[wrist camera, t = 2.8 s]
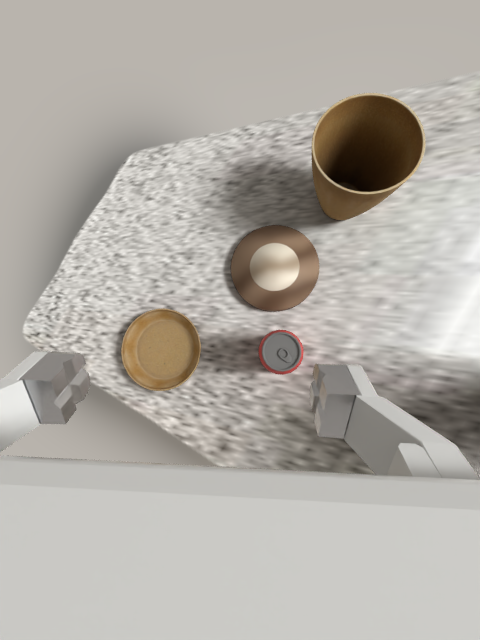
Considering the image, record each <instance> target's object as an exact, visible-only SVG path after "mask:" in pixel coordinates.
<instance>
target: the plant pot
mask: <svg viewBox="0 0 480 640" xmlns="http://www.w3.org/2000/svg"><path fill="white" fill-rule="evenodd" d="M424 151H425V133H424V129H423V126H422V124H421V122H420V120H419V118H418V116H417V115H416V114H415V112H414V111H413V110H412V109H411V108H410V107H409V106H407V105H406V104H405V103H403V102H402V101H400V100H398V99H396V98H394V97H391V96H388V95H384V94H377V93H363V94H357V95H354V96H350V97H347V98H345V99H343V100H341V101H339V102H337V103H336V104H334V105H333V106H332V107H330V108H329V109H328V110H327V111H326V112H325V113H324V114H323V116H322V117H321V118H320V120H319V121H318V123H317V125H316V127H315V130H314V133H313V138H312V172H313V180H314V186H315V190H316V194H317V197H318V200H319V203H320V205H321V207H322V209H323V211H324V212H325V214H326V215H327V216H329V217H330V218H332V219H335V220H346V219H350V218H353V217H355V216H358V215H360V214H362V213H364V212H366V211H367V210H369V209H371V208H372V207H374V206H376V205H377V204H379V203H380V202H381V201H383V200H384V199H385V198H387V197H388V196H389V195H390V194H392V193H393V192H394V191H395V190H396V189H397V188H399V187H400V186H401V185H402V184H403V183H404V182H405V181H406V180H408V179H409V178H410V177H411V176H412V175H413V174H414V172H415V171H416V170H417V168H418V167H419V165H420V163H421V161H422V158H423V155H424Z"/></svg>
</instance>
